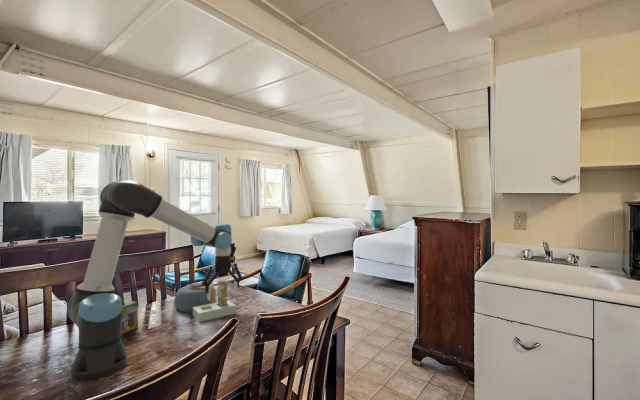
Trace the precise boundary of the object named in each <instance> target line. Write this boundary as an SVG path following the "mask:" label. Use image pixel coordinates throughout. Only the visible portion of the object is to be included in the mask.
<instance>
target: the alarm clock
mask: <svg viewBox="0 0 640 400" xmlns="http://www.w3.org/2000/svg"><path fill="white" fill-rule="evenodd" d="M201 283H202V281H200V282H199V281H198V282H192V283H191V284H188V285H185V286H182V287H181V288H178V290H177V291H176V293H175V308H176V309H177V310H178V312H181V313H193V307H196V306H201V305H206V304H211V303H216V302H218V300H217V298H216V297H217V295H216V293H217V291H216V288H215V284H213V282H212V283H211V284H210V287H211V298H210V300H208V299H207V294H206V292H205V286H202V285H201Z"/></svg>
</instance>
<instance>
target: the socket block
mask: <svg viewBox="0 0 640 400" xmlns="http://www.w3.org/2000/svg"><path fill="white" fill-rule="evenodd" d="M235 314H237V305H236V304H235V303H234V302H232V301H230V299H227V305H226V306H222V307H219V306H218V301H217V302H216V303H211V304H206V305H201V306H196V307H193V312H192V316H193V318H195V320H196V321H197V322H198V323H200V322H205V321H209V320H212V319H213V320H214V319H217V318H222V317H225V316H230V315H235Z"/></svg>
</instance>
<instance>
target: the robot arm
mask: <svg viewBox="0 0 640 400" xmlns="http://www.w3.org/2000/svg"><path fill="white" fill-rule="evenodd" d="M163 198H164V197H163V196H162V195H160V194H159V193H157V192H155V191H154V190H152V189H150V188H149V187H147V186H145V185H144V184H142V183H139V182H137V181H133V180H124V181H123V180H122V181H121V180H116V181H112V182H110V183H109V184H107V185H105V186H104V187H103V188H102V190H101V192H100V194H99V200H100V206H99V209H98V214H99V215H100V217H101V219H100V223H99V227H98V230H97V234H96V236H95V240H94V244H93V248H92V251H91V255H90V258H89V262H88V264H87V265H88V266H87V269H86V271H85V272H86V273H85V275H84V278H83V279H84V280H83V282H81V283H80V284H78V285H77V286H76V288H75V291H74V295H73V296H72V297H71V298H70V300H69V301H68V304H67V310H66V311H67V315H68V318H69V319H70V320H71V321H72V322H73V323H74V324H75V325H76V327H77V328H78V350H77V353H76V355H75V358H74V361H73V362H72V365H71V369H70V371H71V372H70V373H71V374H70V377H71V378H72V379H73V380H76V381H80V382H81V381H92V380H97V379H101V378H104V377H105V378H106V377H107V376H108V377H109V375H112V374H114V373H116V372H118V371H120V370H121V369H122V368H123V367H125V366H126V364H128V363H127V362H128V353H127V350H126V348H125V345H124V342H123V340H122V335H123V334H122V307H123V306H122V300H121V298H120V297H121V296H120V295H118V294H117V293H115V289H116V288H115V286H114V285H113V284H112V282H113V279H114V276H115V272H116V268H117V264H118V260H119V257H120V253H121V250H122V246H123V242H124V240H125V239H124V238H125V235H126V232H127V231H126V230H127V228H128V224H129V222H130V221H132V220H133V219H135V214H137V215H140V216H143V217H144V218H147V219H149V218H153V219H155V220H157V221H159V222H161V223H163V224H166V225H167V226H170V227H171V228H174V229H176V230H177V231H180V232H182V233H184V234H187V235H188V236H190V242H191V245H192V246H194V247H201V246H202V247H203V246H205V247H209V248H214V249H215V251H214V252H215V253H214V254H215V258H214V260H215V261H214V265H208V267H207V272H206V274H205V275H204V278H203V279H202V281H201V282H202V283H201V285H202V286H205V292H206V294H207V299H208V300H210V298H211V287H210V284H211V283H212V284H213V282H214V281H215V279H216V278H217V277H218V276H219V275H223V274H229V275H230V276H231V278H232V279H234V281H233V295H235V296H238V289H239V288H240V282H241V281H242V280H243V281H244V279H243V276H242V273H241V272H240V270H239V268H238V263H237V262H232V255H231V253H232V242H233V241H232V240H233V239H232V225H231V224H228V223H219V224H215V227H214V226H212V225H211V224H208V223H207V222H206V221H203V220H201V219H199V218H197V217H196V216H194V215H192V214H190V213H188V212H186V211H184V210H182V209H180V207H177V206H175V205H173V204H172V203H170V202H168V201H166V200H164V199H163ZM231 268H233V271H234V272H235V274H236V275H235V274H234V272H233V271H232V270H231ZM213 271H214V272H213ZM212 272H213V273H212ZM211 274H212V275H211Z"/></svg>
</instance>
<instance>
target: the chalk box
mask: <svg viewBox="0 0 640 400" xmlns="http://www.w3.org/2000/svg"><path fill="white" fill-rule="evenodd" d="M120 298H121V300H122V306H123V307H122V334H121V335H124V334H125V333H128V332H130V331H133V330H135V329H138V328H139V312H138V311H139V308H138V307H139V305H138V301H134V300H129V299H124V298H123V297H122V296H120Z"/></svg>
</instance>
